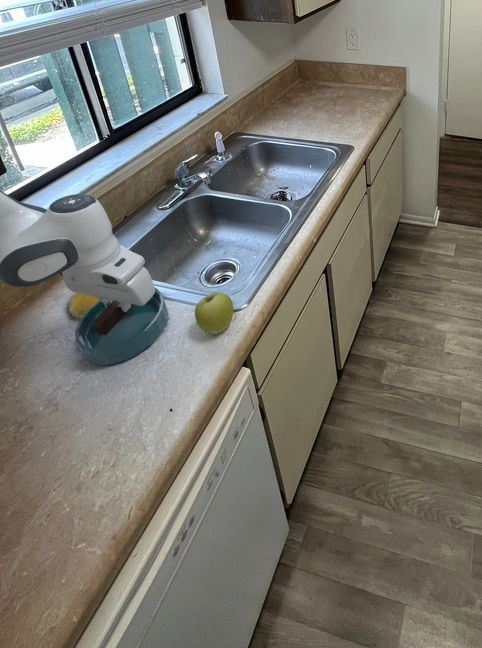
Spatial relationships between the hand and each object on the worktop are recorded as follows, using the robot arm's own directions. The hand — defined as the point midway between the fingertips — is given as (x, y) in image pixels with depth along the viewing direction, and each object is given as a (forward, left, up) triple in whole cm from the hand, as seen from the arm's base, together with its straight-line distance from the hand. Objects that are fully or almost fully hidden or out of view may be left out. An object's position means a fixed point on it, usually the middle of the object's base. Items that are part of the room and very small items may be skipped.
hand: (119, 307), depth 98 cm
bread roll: (-10, +11, -8) cm, 17 cm away
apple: (+20, -5, -8) cm, 22 cm away
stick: (0, 0, -2) cm, 2 cm away
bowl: (0, 0, -7) cm, 7 cm away
